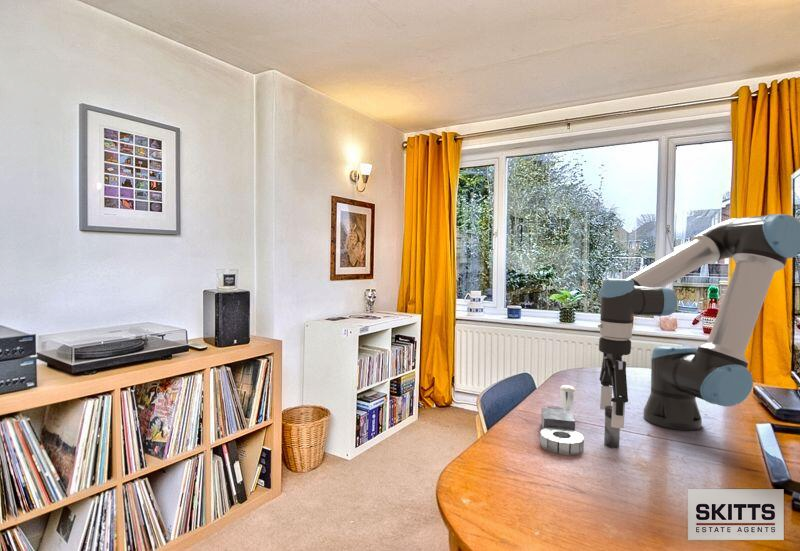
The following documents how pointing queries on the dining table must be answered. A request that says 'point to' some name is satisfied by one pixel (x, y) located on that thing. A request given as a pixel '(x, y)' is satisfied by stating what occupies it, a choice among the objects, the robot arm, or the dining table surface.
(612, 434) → the black capped grinder
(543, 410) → the grey block with disc
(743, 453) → the dining table surface
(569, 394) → the milkshake
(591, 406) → the dining table surface
